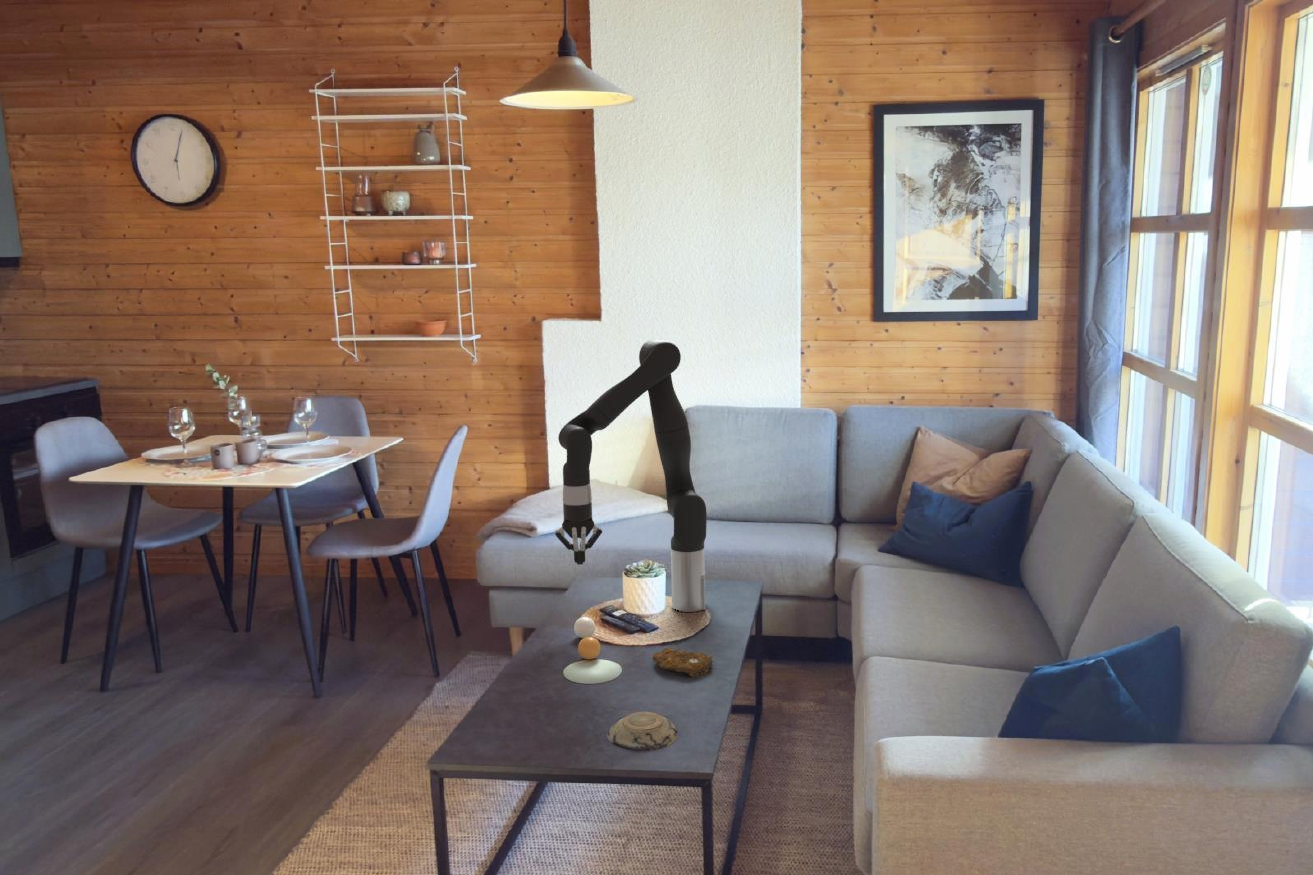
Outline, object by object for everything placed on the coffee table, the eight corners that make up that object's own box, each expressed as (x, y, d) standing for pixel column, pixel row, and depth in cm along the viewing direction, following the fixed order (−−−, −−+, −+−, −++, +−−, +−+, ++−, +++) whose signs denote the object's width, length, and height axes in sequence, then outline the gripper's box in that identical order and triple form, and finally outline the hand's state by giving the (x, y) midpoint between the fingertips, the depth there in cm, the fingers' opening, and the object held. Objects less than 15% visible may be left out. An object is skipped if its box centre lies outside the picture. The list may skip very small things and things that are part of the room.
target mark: (623, 659, 258) (623, 658, 258) (620, 683, 244) (620, 682, 244) (566, 660, 258) (566, 659, 258) (560, 684, 245) (560, 683, 245)
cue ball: (596, 633, 275) (595, 613, 274) (594, 641, 270) (594, 621, 269) (575, 634, 276) (574, 614, 275) (573, 641, 270) (572, 621, 269)
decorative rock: (643, 676, 250) (704, 685, 245) (643, 660, 249) (704, 669, 244) (658, 655, 260) (717, 664, 256) (658, 640, 259) (717, 648, 255)
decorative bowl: (600, 726, 225) (616, 758, 210) (599, 710, 224) (615, 740, 210) (667, 717, 229) (687, 747, 214) (667, 701, 228) (687, 730, 214)
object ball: (601, 654, 262) (600, 633, 261) (599, 663, 256) (599, 641, 255) (579, 654, 262) (578, 633, 261) (577, 663, 257) (576, 641, 256)
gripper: (601, 495, 281) (603, 558, 284) (551, 498, 279) (554, 561, 282) (603, 502, 273) (606, 566, 277) (552, 505, 271) (555, 569, 275)
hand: (579, 563), depth 279 cm, fingers closed
